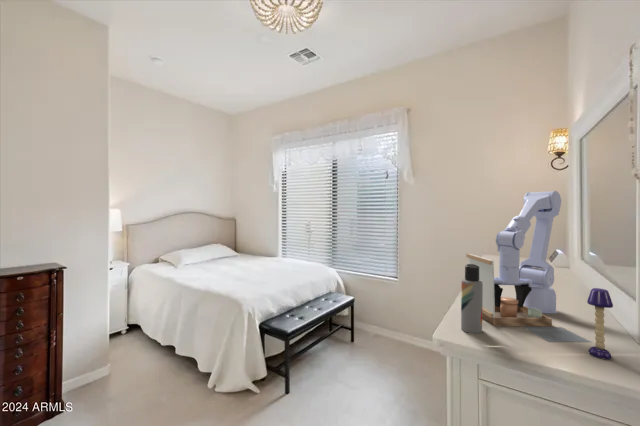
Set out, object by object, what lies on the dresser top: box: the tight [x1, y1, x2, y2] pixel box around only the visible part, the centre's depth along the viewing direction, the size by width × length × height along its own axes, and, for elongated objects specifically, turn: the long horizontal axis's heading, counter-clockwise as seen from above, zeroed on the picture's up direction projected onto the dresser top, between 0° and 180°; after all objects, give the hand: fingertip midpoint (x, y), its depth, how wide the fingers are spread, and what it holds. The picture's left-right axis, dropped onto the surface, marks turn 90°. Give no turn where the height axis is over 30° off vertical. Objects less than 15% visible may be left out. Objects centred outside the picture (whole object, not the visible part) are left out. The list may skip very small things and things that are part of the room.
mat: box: [522, 326, 592, 343], centre depth 82 cm, size 12×10×1 cm
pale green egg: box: [528, 308, 543, 318], centre depth 91 cm, size 4×4×4 cm
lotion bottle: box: [460, 263, 483, 334], centre depth 85 cm, size 6×6×20 cm
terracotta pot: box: [500, 296, 518, 318], centre depth 95 cm, size 5×5×6 cm
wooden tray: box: [482, 305, 553, 327], centre depth 95 cm, size 18×14×3 cm
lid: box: [465, 253, 495, 318], centre depth 95 cm, size 18×14×1 cm
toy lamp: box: [587, 287, 614, 360], centre depth 71 cm, size 5×5×17 cm
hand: (508, 306), depth 95 cm, fingers open, 7 cm apart
